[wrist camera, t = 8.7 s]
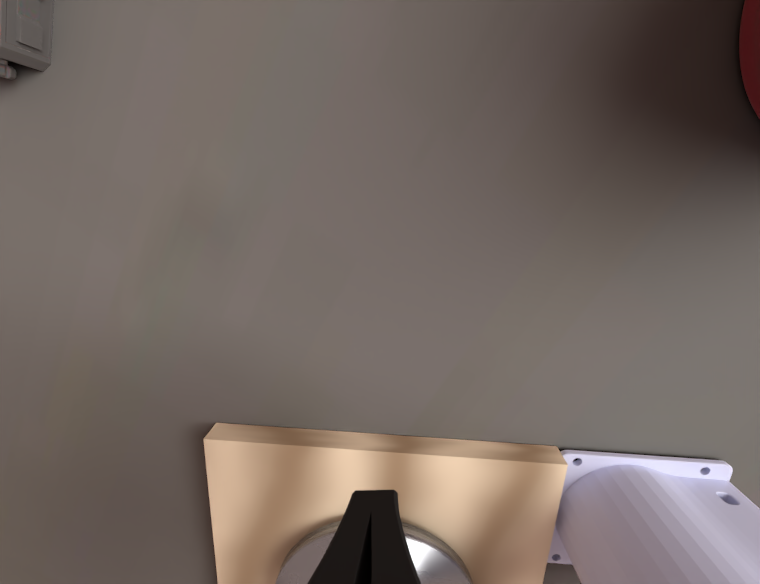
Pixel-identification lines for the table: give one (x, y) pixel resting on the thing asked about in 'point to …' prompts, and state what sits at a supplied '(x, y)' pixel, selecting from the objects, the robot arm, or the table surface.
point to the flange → (429, 553)
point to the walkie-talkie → (25, 34)
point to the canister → (751, 52)
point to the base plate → (380, 472)
